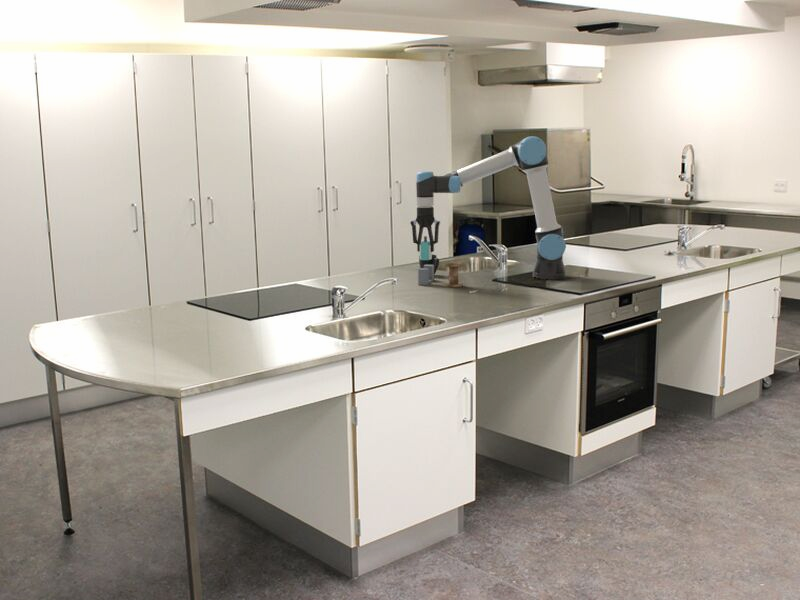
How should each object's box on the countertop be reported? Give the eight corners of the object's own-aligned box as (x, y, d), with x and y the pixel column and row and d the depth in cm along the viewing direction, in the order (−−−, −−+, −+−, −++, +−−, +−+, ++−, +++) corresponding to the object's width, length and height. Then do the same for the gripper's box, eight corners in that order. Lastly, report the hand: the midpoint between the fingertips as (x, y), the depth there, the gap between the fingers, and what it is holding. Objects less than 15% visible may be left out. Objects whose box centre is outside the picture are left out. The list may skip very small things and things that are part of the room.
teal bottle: (430, 259, 394) (430, 236, 392) (428, 260, 391) (428, 237, 389) (422, 258, 395) (422, 235, 393) (421, 260, 392) (420, 236, 390)
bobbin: (464, 284, 388) (464, 262, 386) (461, 287, 380) (460, 265, 378) (446, 284, 390) (446, 261, 388) (443, 287, 382) (442, 264, 380)
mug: (430, 278, 404) (430, 258, 403) (415, 275, 414) (415, 255, 412) (445, 276, 409) (444, 256, 407) (430, 273, 419) (429, 253, 417)
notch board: (434, 279, 401) (433, 264, 400) (427, 285, 388) (427, 269, 386) (425, 279, 402) (425, 264, 401) (418, 285, 389) (418, 269, 388)
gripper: (445, 206, 390) (445, 258, 394) (409, 205, 394) (409, 257, 399) (441, 207, 383) (442, 260, 387) (405, 207, 387) (405, 259, 391)
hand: (425, 258), depth 393 cm, fingers closed on teal bottle, 3 cm apart
